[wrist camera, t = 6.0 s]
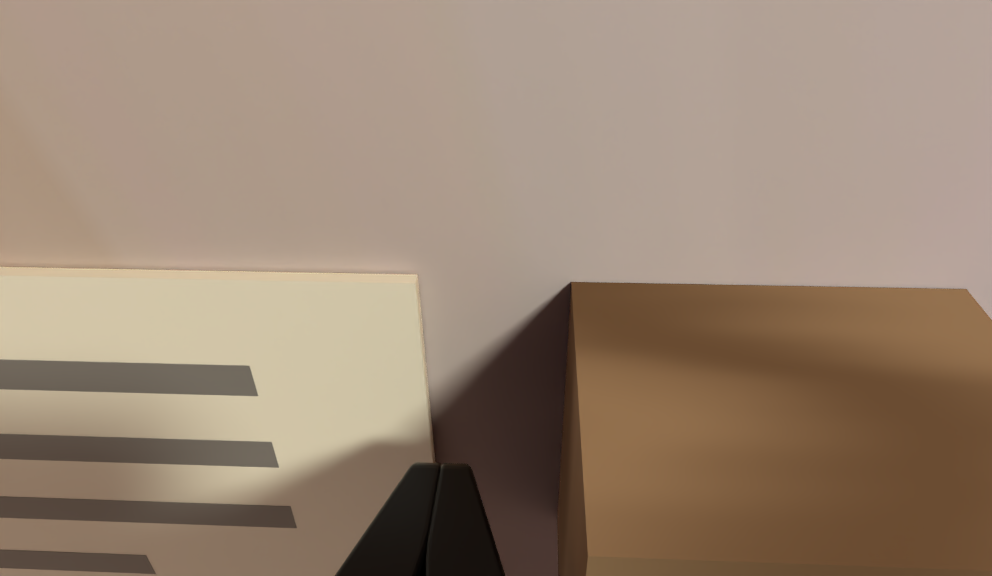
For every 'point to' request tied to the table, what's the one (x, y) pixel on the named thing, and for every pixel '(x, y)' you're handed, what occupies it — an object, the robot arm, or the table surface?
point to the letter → (203, 418)
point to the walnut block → (775, 432)
